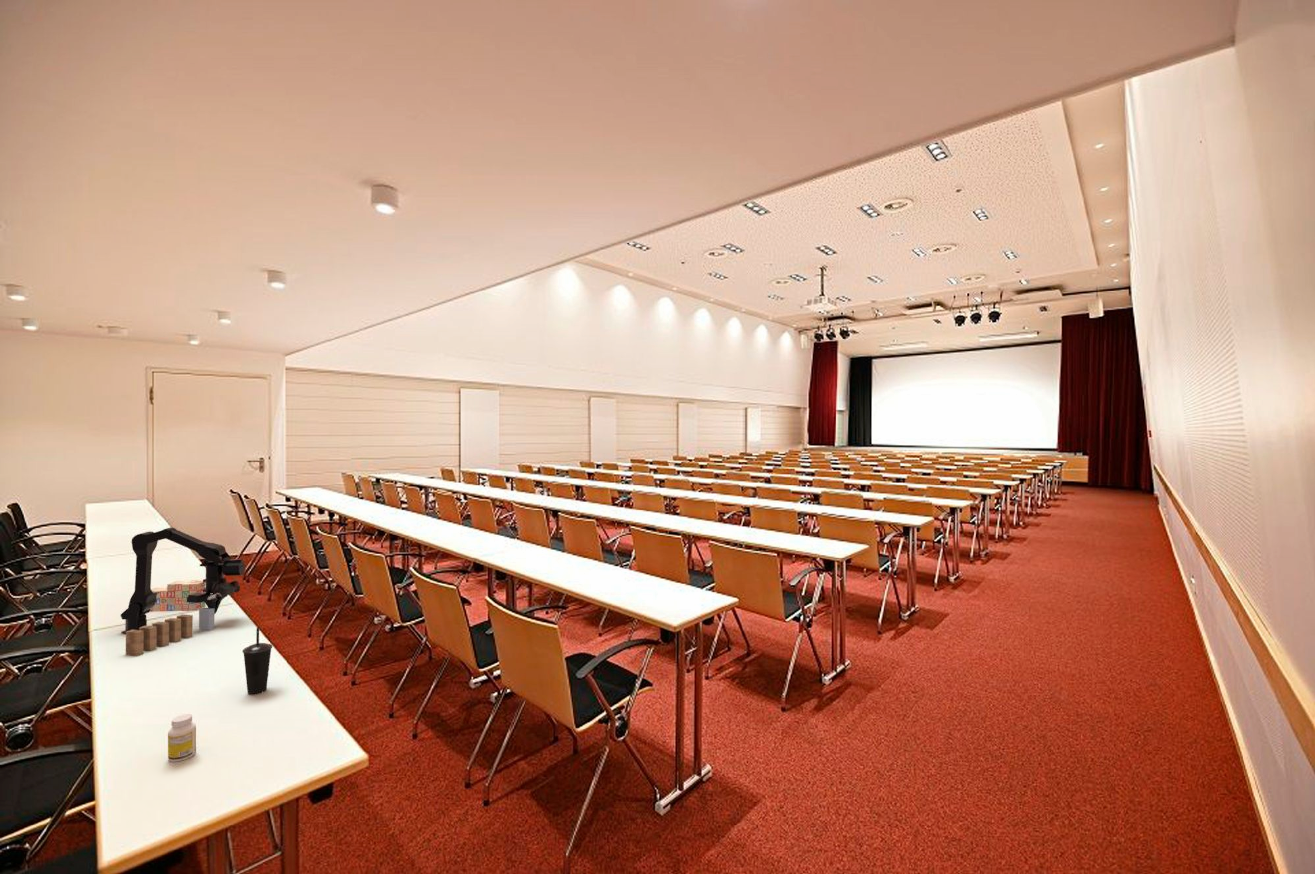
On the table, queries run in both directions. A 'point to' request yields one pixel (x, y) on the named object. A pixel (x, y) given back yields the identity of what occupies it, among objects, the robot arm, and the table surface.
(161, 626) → the domino
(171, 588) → the stack of blocks
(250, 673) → the drinking cup
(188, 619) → the domino
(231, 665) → the table surface
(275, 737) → the table surface
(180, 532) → the robot arm
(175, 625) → the domino
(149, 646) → the domino
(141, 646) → the domino
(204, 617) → the slate domino
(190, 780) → the table surface
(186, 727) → the supplement bottle
